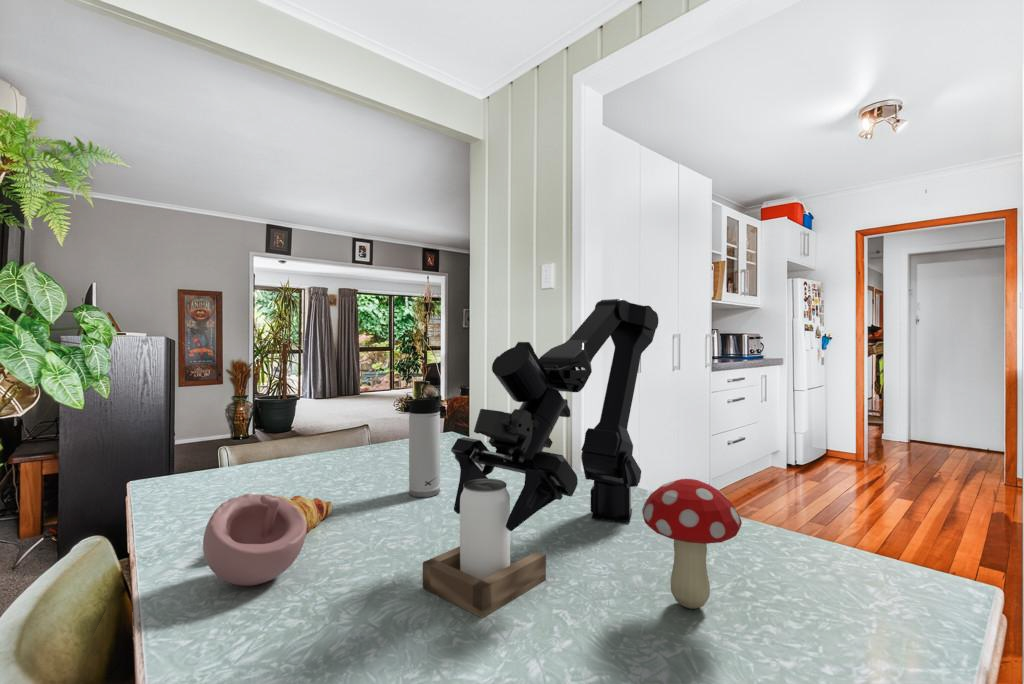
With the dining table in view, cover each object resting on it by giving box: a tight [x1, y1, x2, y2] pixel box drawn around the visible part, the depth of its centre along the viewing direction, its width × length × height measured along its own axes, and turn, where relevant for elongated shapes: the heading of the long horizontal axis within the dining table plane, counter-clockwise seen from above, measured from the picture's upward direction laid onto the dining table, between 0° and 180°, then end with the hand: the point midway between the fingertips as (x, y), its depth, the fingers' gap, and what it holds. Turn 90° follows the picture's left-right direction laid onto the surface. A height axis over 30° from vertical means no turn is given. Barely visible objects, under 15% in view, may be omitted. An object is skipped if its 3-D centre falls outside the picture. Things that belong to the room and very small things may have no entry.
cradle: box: [422, 545, 547, 619], centre depth 65 cm, size 12×10×3 cm
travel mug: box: [408, 395, 442, 498], centre depth 103 cm, size 6×7×20 cm
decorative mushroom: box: [641, 478, 743, 610], centre depth 59 cm, size 11×11×15 cm
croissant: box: [277, 495, 334, 534], centre depth 81 cm, size 21×10×8 cm, turn 155°
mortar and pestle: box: [202, 493, 307, 587], centre depth 66 cm, size 12×12×12 cm
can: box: [459, 478, 511, 580], centre depth 65 cm, size 6×6×12 cm
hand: (481, 520), depth 64 cm, fingers open, 9 cm apart
